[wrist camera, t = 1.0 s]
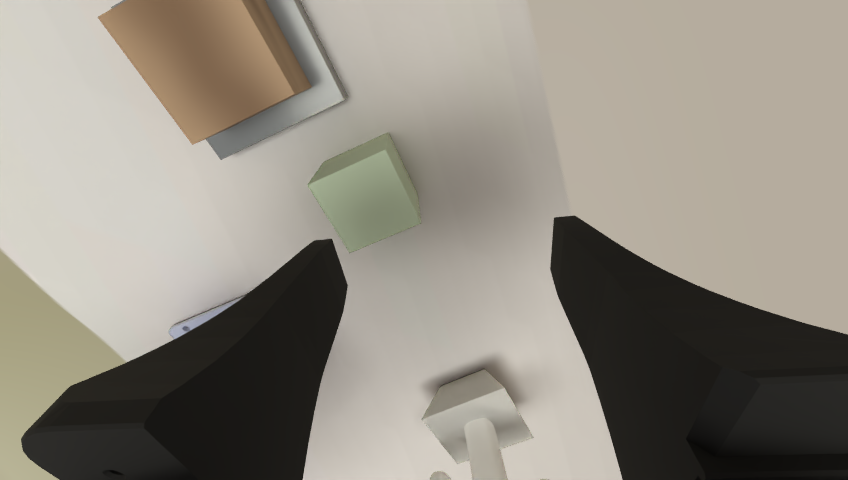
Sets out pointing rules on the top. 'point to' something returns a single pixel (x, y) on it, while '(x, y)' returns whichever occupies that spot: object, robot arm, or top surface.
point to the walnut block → (208, 59)
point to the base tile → (298, 107)
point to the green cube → (367, 193)
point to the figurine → (476, 424)
